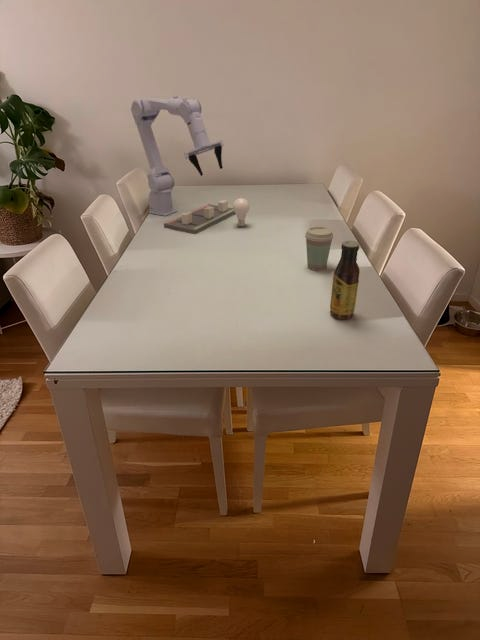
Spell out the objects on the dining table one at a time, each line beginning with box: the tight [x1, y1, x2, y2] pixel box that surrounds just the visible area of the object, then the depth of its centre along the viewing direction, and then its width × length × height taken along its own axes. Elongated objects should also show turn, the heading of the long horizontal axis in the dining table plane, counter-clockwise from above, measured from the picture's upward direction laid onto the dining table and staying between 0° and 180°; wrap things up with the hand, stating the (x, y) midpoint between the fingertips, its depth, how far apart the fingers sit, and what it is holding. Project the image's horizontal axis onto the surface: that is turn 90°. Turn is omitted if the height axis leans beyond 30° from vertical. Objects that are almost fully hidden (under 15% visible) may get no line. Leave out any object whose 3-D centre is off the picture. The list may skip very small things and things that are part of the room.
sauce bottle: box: [329, 240, 361, 320], centre depth 115 cm, size 6×6×20 cm
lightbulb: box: [232, 197, 250, 228], centre depth 178 cm, size 6×6×11 cm
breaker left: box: [217, 199, 229, 212], centre depth 193 cm, size 2×4×4 cm
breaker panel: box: [163, 203, 236, 235], centre depth 188 cm, size 15×30×2 cm, turn 148°
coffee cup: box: [304, 226, 334, 272], centre depth 144 cm, size 8×8×12 cm
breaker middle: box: [204, 206, 214, 219], centre depth 185 cm, size 2×4×4 cm
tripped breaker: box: [180, 211, 192, 225], centre depth 180 cm, size 2×4×4 cm
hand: (211, 171), depth 170 cm, fingers open, 7 cm apart
